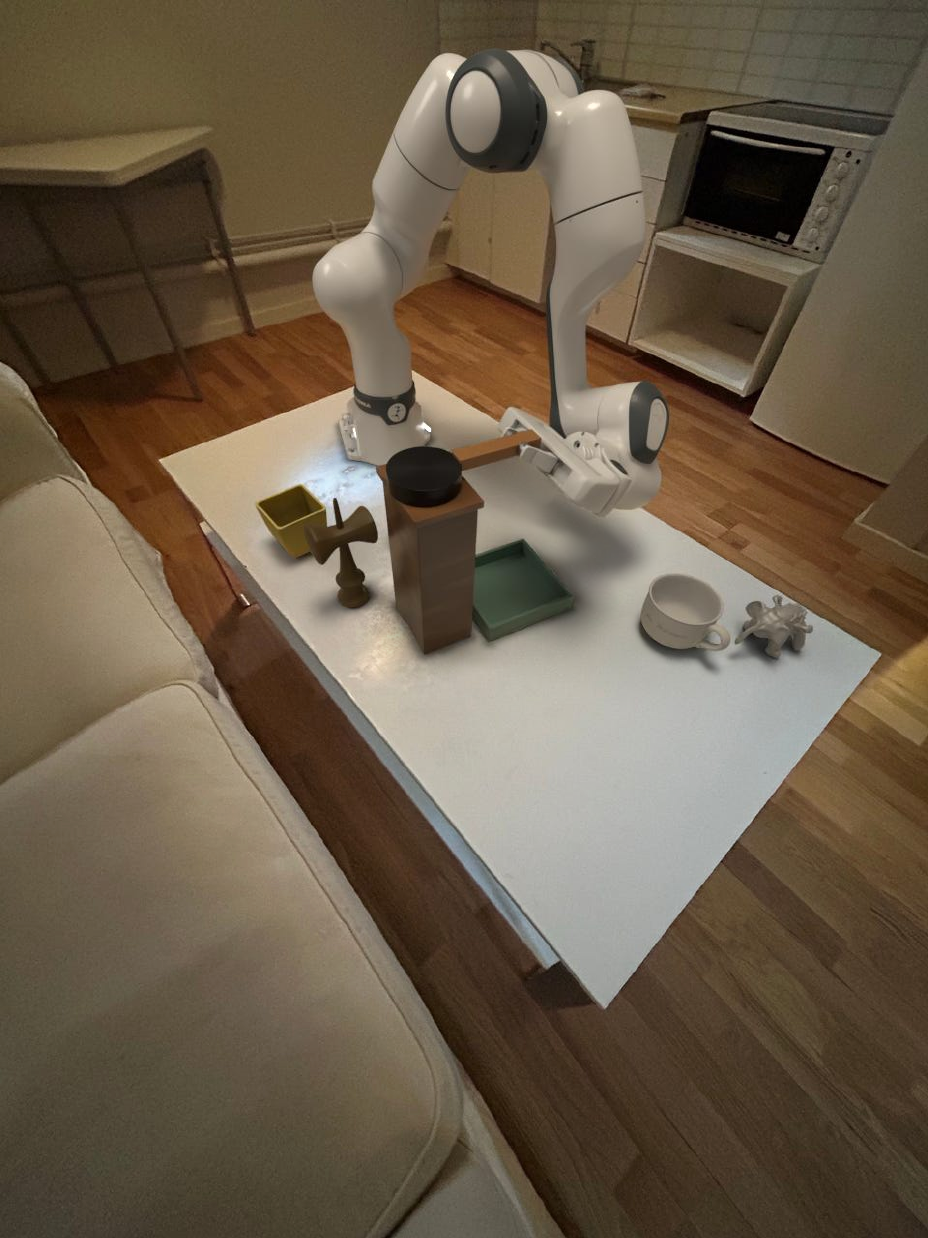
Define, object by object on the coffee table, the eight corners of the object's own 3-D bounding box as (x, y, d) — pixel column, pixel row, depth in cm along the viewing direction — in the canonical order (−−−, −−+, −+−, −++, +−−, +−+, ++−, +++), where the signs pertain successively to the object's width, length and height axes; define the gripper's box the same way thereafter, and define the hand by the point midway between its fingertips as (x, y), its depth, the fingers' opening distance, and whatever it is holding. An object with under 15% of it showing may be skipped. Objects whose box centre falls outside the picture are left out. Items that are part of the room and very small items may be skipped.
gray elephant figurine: (807, 642, 84) (833, 610, 79) (770, 685, 79) (796, 654, 73) (752, 609, 89) (773, 576, 83) (713, 647, 83) (733, 615, 77)
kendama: (319, 597, 88) (292, 497, 73) (372, 575, 92) (357, 475, 76) (334, 621, 85) (309, 522, 70) (389, 598, 88) (376, 498, 73)
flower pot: (290, 570, 92) (278, 529, 85) (267, 543, 96) (253, 502, 89) (335, 548, 96) (327, 507, 89) (311, 523, 100) (301, 482, 93)
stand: (391, 604, 87) (375, 466, 68) (441, 586, 90) (440, 449, 70) (422, 658, 81) (414, 522, 61) (475, 637, 83) (484, 500, 64)
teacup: (622, 615, 87) (635, 580, 81) (678, 598, 90) (695, 563, 84) (672, 683, 79) (691, 650, 73) (733, 662, 82) (756, 629, 75)
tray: (445, 578, 92) (445, 564, 89) (521, 551, 96) (523, 538, 94) (488, 641, 83) (489, 628, 81) (570, 608, 88) (573, 595, 85)
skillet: (376, 473, 67) (373, 453, 64) (516, 435, 73) (518, 416, 71) (405, 515, 61) (404, 495, 59) (553, 471, 68) (556, 451, 66)
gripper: (552, 411, 81) (485, 381, 72) (641, 485, 69) (573, 462, 60) (530, 448, 84) (463, 425, 75) (611, 526, 72) (543, 509, 63)
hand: (513, 442), depth 67 cm, fingers closed on skillet, 2 cm apart
